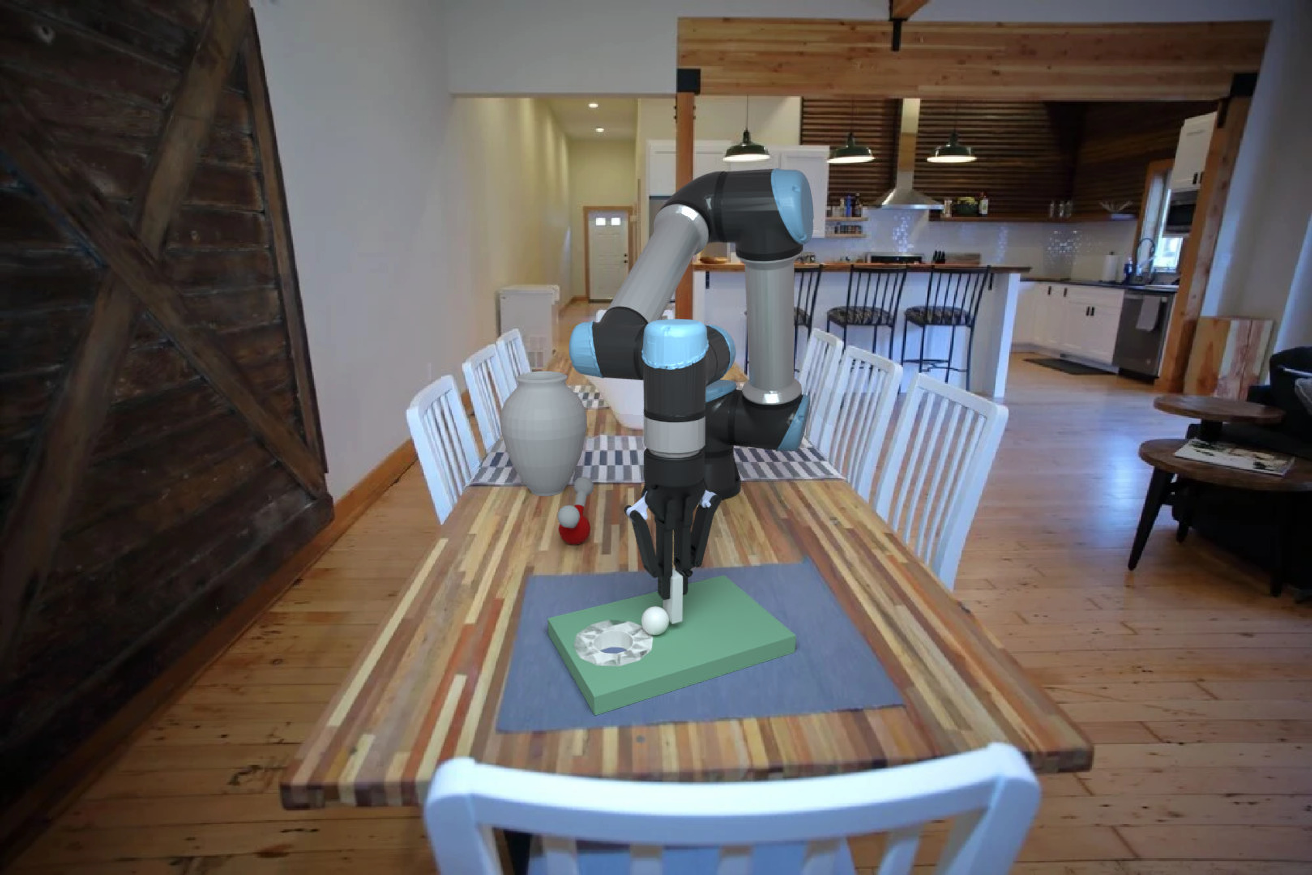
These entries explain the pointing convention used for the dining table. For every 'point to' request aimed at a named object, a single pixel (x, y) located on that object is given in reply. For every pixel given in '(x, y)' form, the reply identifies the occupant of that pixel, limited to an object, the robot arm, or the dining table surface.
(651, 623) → the ball
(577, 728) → the dining table surface
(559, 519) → the molecular model
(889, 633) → the dining table surface
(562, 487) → the vase
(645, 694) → the putting mat
